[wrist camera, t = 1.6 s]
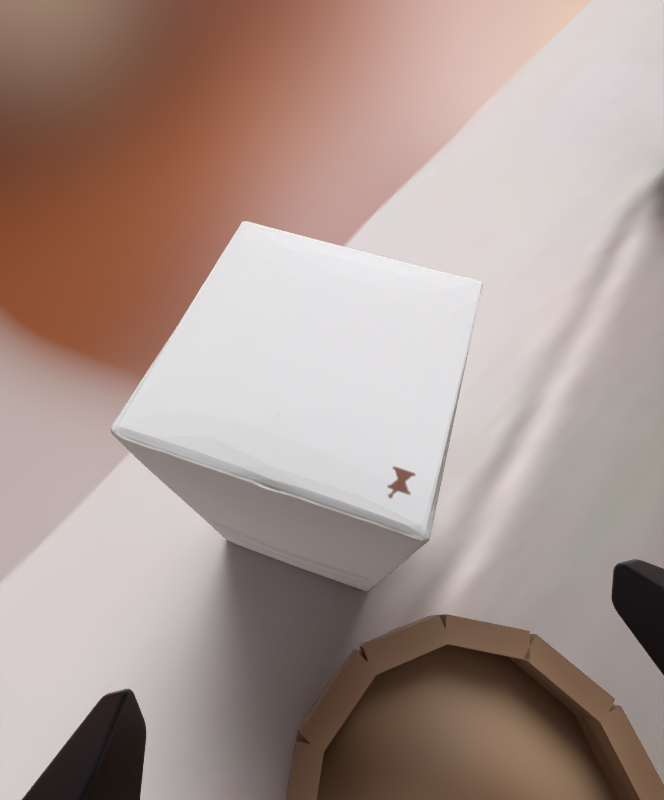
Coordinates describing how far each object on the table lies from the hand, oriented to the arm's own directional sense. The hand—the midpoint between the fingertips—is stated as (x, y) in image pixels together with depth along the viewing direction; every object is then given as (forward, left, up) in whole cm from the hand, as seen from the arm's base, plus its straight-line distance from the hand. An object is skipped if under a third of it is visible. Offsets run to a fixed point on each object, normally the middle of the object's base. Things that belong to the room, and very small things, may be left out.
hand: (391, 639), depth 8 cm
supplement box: (+6, +2, -13) cm, 14 cm away
